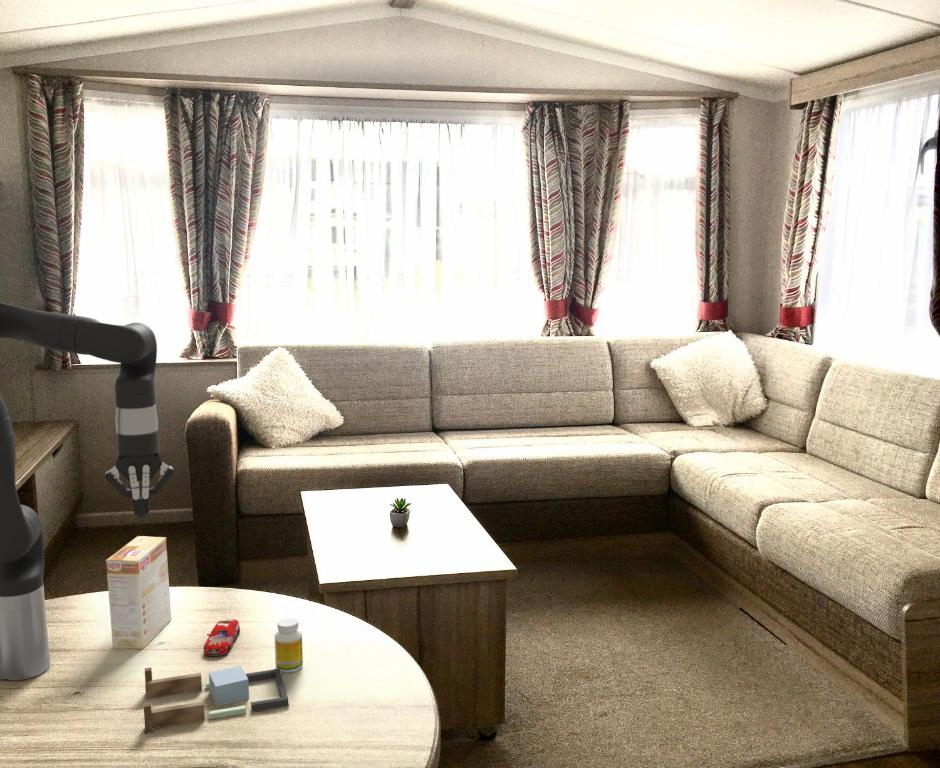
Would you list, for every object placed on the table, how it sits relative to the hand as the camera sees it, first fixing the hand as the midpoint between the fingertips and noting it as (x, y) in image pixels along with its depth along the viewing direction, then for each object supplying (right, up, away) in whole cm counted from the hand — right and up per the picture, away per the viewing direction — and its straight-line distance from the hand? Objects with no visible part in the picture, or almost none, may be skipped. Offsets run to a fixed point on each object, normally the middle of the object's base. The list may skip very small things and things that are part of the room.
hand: (142, 516), depth 175 cm
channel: (+9, -34, -9) cm, 36 cm away
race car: (+11, -30, +17) cm, 36 cm away
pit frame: (+24, -33, -4) cm, 41 cm away
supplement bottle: (+27, -31, +6) cm, 42 cm away
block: (+18, -33, -4) cm, 38 cm away
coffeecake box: (-8, -29, +22) cm, 37 cm away
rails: (+18, -33, -6) cm, 38 cm away
